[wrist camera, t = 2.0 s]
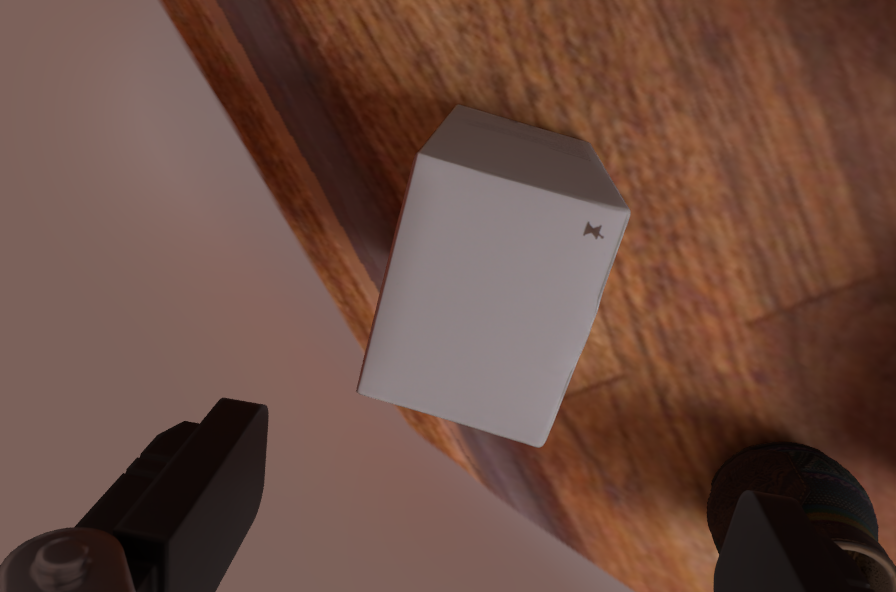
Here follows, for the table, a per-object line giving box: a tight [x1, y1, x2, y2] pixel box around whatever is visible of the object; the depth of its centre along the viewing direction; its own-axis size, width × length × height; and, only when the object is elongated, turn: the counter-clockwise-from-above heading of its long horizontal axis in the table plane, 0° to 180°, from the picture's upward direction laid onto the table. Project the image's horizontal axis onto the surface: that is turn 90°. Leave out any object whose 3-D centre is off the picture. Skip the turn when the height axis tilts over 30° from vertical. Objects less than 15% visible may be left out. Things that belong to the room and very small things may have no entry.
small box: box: [356, 105, 630, 447], centre depth 27 cm, size 8×6×13 cm
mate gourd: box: [707, 442, 896, 592], centre depth 32 cm, size 7×8×10 cm
